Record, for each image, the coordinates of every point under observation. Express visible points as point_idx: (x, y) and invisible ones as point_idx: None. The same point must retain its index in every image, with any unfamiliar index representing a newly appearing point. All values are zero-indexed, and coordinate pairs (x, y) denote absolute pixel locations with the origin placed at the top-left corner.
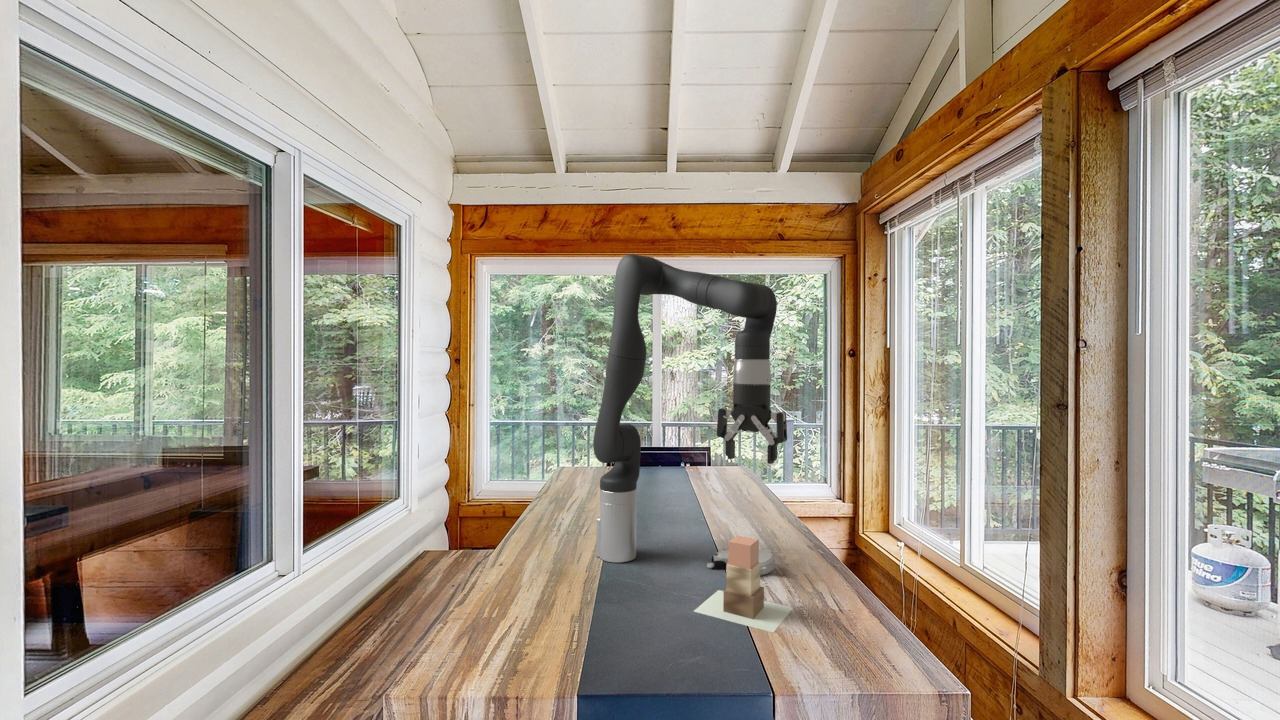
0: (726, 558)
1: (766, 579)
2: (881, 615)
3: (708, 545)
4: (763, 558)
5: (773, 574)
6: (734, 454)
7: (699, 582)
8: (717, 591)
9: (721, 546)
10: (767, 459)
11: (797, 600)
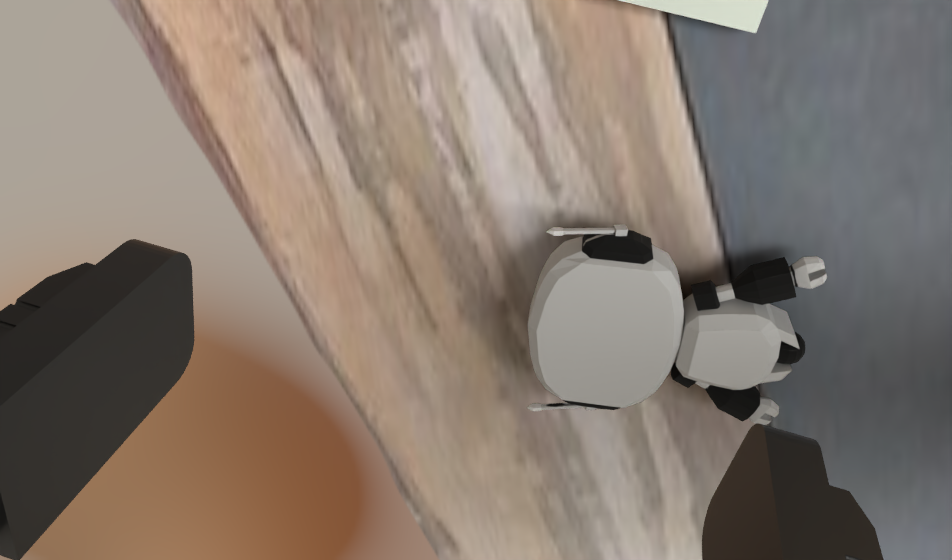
0: (735, 313)
1: None
2: (146, 51)
3: None
4: (568, 313)
5: None
6: (707, 553)
7: (852, 146)
8: (759, 12)
9: None
10: (151, 272)
11: (424, 86)
